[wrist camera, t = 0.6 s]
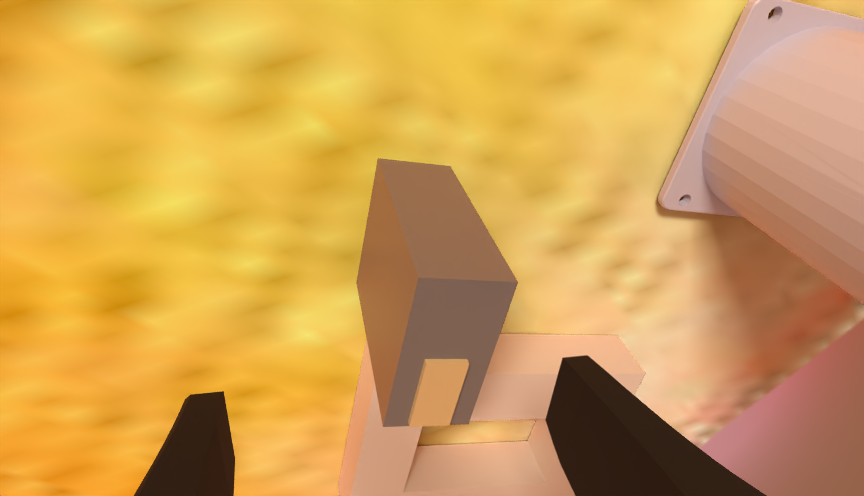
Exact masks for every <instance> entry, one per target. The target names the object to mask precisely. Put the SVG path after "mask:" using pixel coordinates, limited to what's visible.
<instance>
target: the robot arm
mask: <svg viewBox="0 0 864 496" xmlns="http://www.w3.org/2000/svg"><path fill="white" fill-rule="evenodd" d="M773 8H774V12H773V15H772V16H771V18H769V19H768V15H769V13H770V11H771V10H772V9H773ZM684 195H685V196H684ZM682 196H684V198H683V199H682V200H680V198H681V197H682ZM679 200H680V201H679ZM658 202H659V204H660V205H661V206H662V207H663V208H665V209H667V210H675V211H685V212H696V213H706V214H717V215H727V216H738V217H744V218H745V219H747V220H748V221H749V222H751V223H752V224H753V225H755V226H756V227H758V228H759V229H760V230H762V231H763V232H764V233H766V234H767V235H769V236H770V237H771V238H773V239H774V240H775V241H777V242H778V243H780V244H781V245H782V246H784V247H785V248H786V249H788V250H789V251H790V252H792V253H793V254H795V255H796V256H797V257H799V258H800V259H801V260H803V261H804V262H806V263H807V264H808V265H810V266H811V267H812V268H814V269H815V270H817V271H818V272H819V273H821V274H822V275H823V276H825V277H826V278H828V279H829V280H830V281H832V282H833V283H834V284H836V285H837V286H839V287H840V288H841V289H843V290H844V291H845V292H847V293H848V294H849V295H851V296H852V297H854V298H855V299H856V300H858V301H859V302H860V303H862V304H863V305H864V19H862V18H858V17H854V16H850V15H846V14H842V13H838V12H834V11H830V10H826V9H822V8H818V7H814V6H810V5H806V4H802V3H798V2H794V1H790V0H749V1H748V3H747V4H746V6H745V8H744V10H743V12H742V14H741V16H740V19H739V21H738V23H737V25H736V27H735V29H734V32H733V34H732V36H731V38H730V40H729V43H728V45H727V47H726V49H725V51H724V53H723V56H722V58H721V60H720V62H719V64H718V67H717V69H716V71H715V73H714V75H713V77H712V80H711V82H710V84H709V86H708V88H707V91H706V93H705V95H704V97H703V99H702V101H701V104H700V106H699V108H698V110H697V112H696V115H695V117H694V119H693V121H692V123H691V125H690V128H689V130H688V132H687V134H686V136H685V139H684V141H683V143H682V145H681V147H680V149H679V152H678V154H677V156H676V158H675V160H674V163H673V165H672V167H671V169H670V171H669V173H668V176H667V178H666V180H665V182H664V184H663V187H662V189H661V191H660V193H659V196H658ZM545 420H546V423H547V426H548V430H549V433H550V436H551V439H552V442H553V445H554V448H555V451H556V453H557V456H558V459H559V462H560V464H561V466H562V469H563V471H564V473H565V475H566V477H567V479H568V481H569V483H570V486H571V488H572V490H573V492H574V494H575V496H766V495H765V494H763V493H761V492H760V491H759V490H757V489H756V488H754V487H753V486H751V485H750V484H748V483H747V482H745V481H744V480H742V479H741V478H739V477H738V476H736V475H735V474H733V473H732V472H730V471H729V470H728V469H726V468H725V467H723V466H722V465H721V464H719V463H718V462H716V461H715V460H714V459H712V458H711V457H710V456H708V455H707V454H706V453H704V452H703V451H702V450H701V449H699V448H698V447H697V446H695V445H694V444H693V443H691V442H690V441H689V440H687V439H686V438H685V437H684V436H682V435H681V434H680V433H679V432H677V431H676V430H675V429H674V428H672V427H671V426H670V425H669V424H667V423H666V422H665V421H664V420H663V419H661V418H660V417H659V416H658V415H657V414H655V413H654V412H653V411H652V410H651V409H649V408H648V407H647V406H646V405H645V404H644V403H642V402H641V401H640V400H639V399H638V398H637V397H635V396H634V395H633V394H632V393H631V392H630V391H629V390H627V389H626V388H625V387H624V386H623V385H622V384H620V383H619V382H618V381H617V380H616V379H615V378H614V377H612V376H611V375H610V374H609V373H608V372H607V371H606V370H604V369H603V368H602V367H601V366H600V365H599V364H597V363H596V362H595V361H594V360H593V359H591V358H590V357H589V356H588V355H584V356H574V357H564V358H562V361H561V365H560V368H559V372H558V376H557V379H556V383H555V387H554V390H553V394H552V397H551V401H550V405H549V408H548V412H547V416H546V419H545ZM234 471H235V456H234V450H233V444H232V438H231V432H230V426H229V421H228V415H227V409H226V403H225V397H224V391H223V392H213V393H203V394H193V395H190V396H189V397H187V398H186V399H185V401H184V403H183V405H182V408H181V410H180V412H179V414H178V416H177V418H176V421H175V423H174V425H173V427H172V429H171V431H170V433H169V434H168V436H167V438H166V440H165V442H164V444H163V446H162V448H161V449H160V451H159V453H158V455H157V457H156V459H155V460H154V462H153V464H152V466H151V467H150V469H149V471H148V472H147V474H146V476H145V478H144V479H143V481H142V483H141V484H140V486H139V488H138V489H137V491H136V493H135V495H134V496H233V494H234Z"/></svg>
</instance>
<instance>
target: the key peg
mask: <svg viewBox="0 0 864 496" xmlns="http://www.w3.org/2000/svg"><path fill="white" fill-rule="evenodd" d="M517 283H518V281H517V280H516V278H515V276H514V275H513V273H512V271H511V270H510V268H509V266H508V264H507V263H506V261H505V259H504V258H503V256H502V254H501V252H500V251H499V249H498V247H497V246H496V244H495V242H494V240H493V239H492V237H491V235H490V234H489V232H488V230H487V228H486V227H485V225H484V223H483V222H482V220H481V218H480V216H479V215H478V213H477V211H476V210H475V208H474V206H473V205H472V203H471V201H470V199H469V198H468V196H467V194H466V193H465V191H464V189H463V187H462V186H461V184H460V182H459V181H458V179H457V177H456V175H455V174H454V172H453V170H452V169H451V167H450V166H443V165H434V164H425V163H415V162H406V161H397V160H388V159H378V161H377V166H376V172H375V178H374V184H373V190H372V196H371V202H370V207H369V213H368V219H367V225H366V231H365V237H364V242H363V248H362V254H361V260H360V266H359V272H358V277H357V288H358V293H359V299H360V304H361V310H362V315H363V321H364V326H365V332H366V337H367V343H368V348H369V354H370V359H371V365H372V370H373V376H374V381H375V387H376V392H377V397H378V403H379V408H380V414H381V419H382V425H383V427H399V426H409V427H424V426H449V425H457V424H469V421H470V418H471V416H472V413H473V410H474V407H475V404H476V401H477V398H478V395H479V393H480V390H481V387H482V384H483V381H484V378H485V375H486V372H487V370H488V367H489V364H490V361H491V358H492V355H493V352H494V349H495V347H496V344H497V341H498V338H499V335H500V332H501V329H502V326H503V324H504V321H505V318H506V315H507V312H508V309H509V306H510V303H511V301H512V298H513V295H514V292H515V289H516V286H517Z"/></svg>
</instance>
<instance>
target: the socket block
mask: <svg viewBox="0 0 864 496" xmlns="http://www.w3.org/2000/svg"><path fill="white" fill-rule="evenodd" d="M584 355H588V356H589V357H590V358H591V359H593V360H594V361H595V362H596V363H597V364H599V365H600V366H601V367H602V368H603V369H604V370H606V371H607V372H608V373H609V374H610V375H611V376H612V377H614V378H615V379H616V380H617V381H618V382H619V383H620V384H622V385H623V386H624V387H625V388H626V389H627V390H629V391H630V392H631V393H632V394H633V395H634V394H635V393H636V391H637V389H638V387H639V385H640V383H641V381H642V380H643V378H644V376H645V374H646V373H645V371H644V370H643V369H642V367H641V366H640V365H639V363H638V362H637V361H636V359H635V358H634V356H633V355H632V354H631V352H630V351H629V350H628V348H627V347H626V346H625V344H624V343H623V342H622V340H621V339H620V338H619V336H618V335H557V334H500V335H499V338H498V341H497V344H496V347H495V349H494V352H493V355H492V358H491V361H490V364H489V367H488V370H487V372H486V375H485V378H484V381H483V384H482V387H481V390H480V393H479V395H478V398H477V401H476V404H475V407H474V410H473V413H472V416H471V418H470V421H494V420H523V419H537V420H536V422H535V424H534V427H533V429H532V431H531V434H530V436H529V438H528V441H514V442H493V443H472V444H451V445H430V446H417V444H418V440H419V437H420V433H421V430H422V427H409V426H399V427H383V425H382V419H381V414H380V408H379V403H378V397H377V392H376V387H375V381H374V376H373V370H372V365H371V359H370V354H369V348H368V343H367V339H366V344H365V349H364V355H363V360H362V365H361V370H360V375H359V380H358V385H357V391H356V396H355V401H354V406H353V411H352V416H351V421H350V427H349V432H348V437H347V442H346V447H345V452H344V458H343V463H342V468H341V473H340V478H339V483H338V490H339V496H575V494H574V492H573V490H572V488H571V486H570V483H569V481H568V479H567V477H566V475H565V473H564V471H563V469H562V466H561V464H560V462H559V459H558V456H557V453H556V451H555V448H554V445H553V442H552V439H551V436H550V433H549V430H548V426H547V423H546V420H545V419H546V416H547V412H548V408H549V405H550V401H551V397H552V394H553V390H554V387H555V383H556V379H557V376H558V372H559V368H560V365H561V361H562V358H564V357H574V356H584Z"/></svg>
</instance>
